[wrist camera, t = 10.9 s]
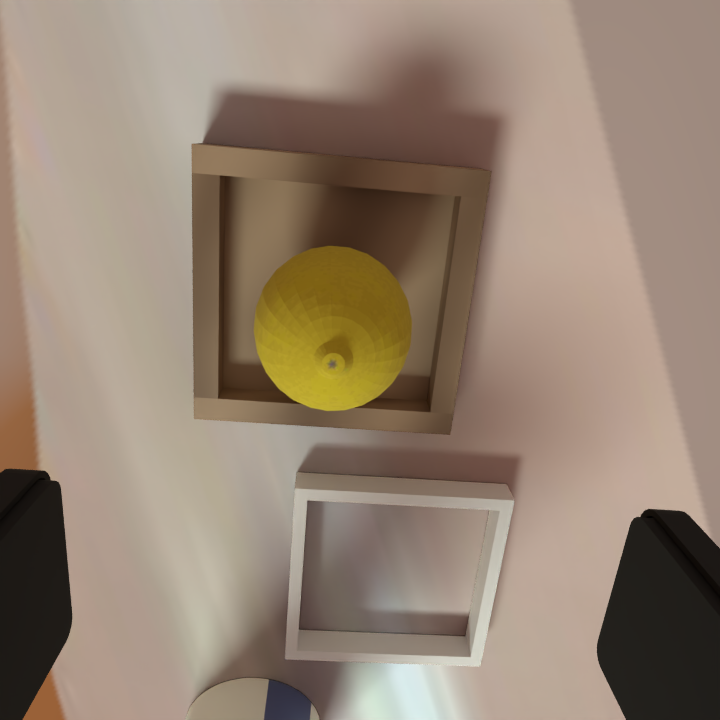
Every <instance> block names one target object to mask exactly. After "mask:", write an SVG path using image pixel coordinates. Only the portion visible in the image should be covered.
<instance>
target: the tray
mask: <svg viewBox="0 0 720 720" xmlns="http://www.w3.org/2000/svg"><path fill="white" fill-rule="evenodd" d="M490 177H491V171H488V170H484V169H478V168H467V167H456V166H446V165H435V164H424V163H413V162H402V161H391V160H380V159H369V158H358V157H347V156H336V155H326V154H315V153H304V152H293V151H282V150H271V149H260V148H249V147H238V146H227V145H217V144H206V143H198V144H192V239H193V357H194V419H204V420H220V421H236V422H253V423H269V424H285V425H301V426H318V427H334V428H350V429H366V430H382V431H399V432H415V433H431V434H447V435H450V432H451V426H452V420H453V413H454V407H455V400H456V394H457V388H458V381H459V375H460V369H461V362H462V356H463V349H464V343H465V337H466V330H467V324H468V318H469V311H470V305H471V298H472V292H473V286H474V279H475V273H476V267H477V260H478V254H479V247H480V241H481V235H482V228H483V222H484V216H485V209H486V203H487V197H488V190H489V184H490ZM325 246H339V247H350V248H352V249H355V250H358V251H361V252H364V253H366V254H368V255H370V256H371V257H373V258H374V259H376V260H377V261H379V262H380V263H382V264H383V265H385V266H386V268H387V269H388V270H389V271H390V272H391V273H392V275H393V276H394V277H395V278H396V279H397V280H398V282H399V284H400V286H401V288H402V290H403V292H404V294H405V296H406V298H407V300H408V304H409V309H410V314H411V319H412V333H411V345H410V348H409V351H408V354H407V357H406V360H405V363H404V366H403V368H402V369H401V371H400V372H399V374H398V375H397V377H396V379H395V380H394V382H393V383H392V384H391V385H390V386H389V387H388V388H387V389H386V390H385V391H384V392H383V393H382V394H380V395H379V396H378V397H376V398H375V399H373V400H371V401H369V402H367V403H366V404H364V405H362V406H358V407H355V408H351V409H348V410H339V411H325V410H320V409H315V408H310V407H308V406H306V405H303V404H301V403H299V402H297V401H294V400H293V399H291V398H290V397H289V396H287V395H286V394H285V393H283V392H282V391H281V390H280V389H279V388H278V387H277V386H276V385H275V383H274V382H273V381H272V380H271V378H270V377H269V376H268V374H267V373H266V371H265V369H264V367H263V365H262V362H261V360H260V358H259V356H258V353H257V349H256V343H255V336H254V320H255V311H256V306H257V303H258V301H259V298H260V295H261V293H262V290H263V288H264V286H265V285H266V283H267V282H268V281H269V279H270V278H271V276H272V275H273V274H274V272H275V271H276V270H277V269H278V268H279V267H281V266H282V265H283V264H284V263H286V262H287V261H288V260H289V259H291V258H292V257H293V256H296V255H298V254H300V253H302V252H305V251H307V250H309V249H312V248H318V247H325Z"/></svg>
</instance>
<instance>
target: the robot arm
mask: <svg viewBox="0 0 720 720" xmlns="http://www.w3.org/2000/svg"><path fill="white" fill-rule="evenodd" d="M71 625H72V607H71V595H70V584H69V573H68V562H67V551H66V540H65V528H64V517H63V506H62V495H61V487H60V484H59V482H57V481H51V480H50V477H49V475H48V473H47V472H45V471H38V470H23V469H5V470H4V471H2V472H1V473H0V720H22V719H23V718H24V716H25V714H26V712H27V711H28V709H29V707H30V705H31V703H32V701H33V700H34V698H35V696H36V694H37V692H38V691H39V689H40V687H41V685H42V684H43V682H44V680H45V678H46V676H47V675H48V673H49V671H50V669H51V668H52V666H53V664H54V662H55V660H56V659H57V657H58V655H59V653H60V652H61V650H62V648H63V646H64V644H65V643H66V641H67V638H68V636H69V633H70V629H71ZM597 656H598V661H599V664H600V667H601V669H602V671H603V673H604V675H605V677H606V680H607V682H608V684H609V686H610V688H611V690H612V692H613V694H614V696H615V698H616V700H617V702H618V704H619V706H620V708H621V710H622V712H623V714H624V716H625V718H626V720H720V548H719V547H718V546H717V545H716V544H715V543H714V542H713V541H712V540H711V539H710V538H709V537H708V535H707V534H706V533H705V532H704V531H703V530H702V529H701V528H700V527H699V526H698V525H697V524H696V523H695V521H694V520H693V519H692V518H691V517H690V516H689V515H688V514H686V513H685V512H682V511H673V510H657V509H648V510H645V511H644V512H643V513H642V514H641V517H636V518H634V519H633V520H632V522H631V525H630V528H629V531H628V535H627V538H626V542H625V546H624V549H623V553H622V556H621V560H620V564H619V567H618V571H617V574H616V578H615V581H614V585H613V589H612V592H611V596H610V599H609V603H608V607H607V610H606V614H605V617H604V621H603V624H602V628H601V632H600V635H599V639H598V643H597Z"/></svg>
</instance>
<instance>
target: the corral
mask: <svg viewBox="0 0 720 720" xmlns="http://www.w3.org/2000/svg"><path fill="white" fill-rule="evenodd" d="M307 500H309V501H328V502H346V503H365V504H384V505H403V506H421V507H440V508H459V509H477V510H489V515H488V520H487V525H486V531H485V536H484V541H483V546H482V552H481V557H480V562H479V567H478V572H477V578H476V583H475V588H474V593H473V598H472V604H471V609H470V614H469V619H468V625H467V630H466V635H465V636H444V635H418V634H393V633H367V632H342V631H316V630H299V617H300V603H301V588H302V573H303V558H304V543H305V529H306V514H307ZM514 501H515V500H514V498H513V496H512V494H511V492H510V490H509V488H508V486H507V484H496V483H479V482H461V481H443V480H426V479H408V478H390V477H372V476H355V475H337V474H319V473H302V472H297V473H296V482H295V493H294V510H293V527H292V545H291V562H290V579H289V596H288V613H287V630H286V647H285V660H313V661H341V662H369V663H397V664H425V665H453V666H480V665H481V660H482V655H483V651H484V646H485V641H486V636H487V631H488V626H489V622H490V617H491V612H492V607H493V602H494V598H495V593H496V588H497V583H498V578H499V573H500V569H501V564H502V559H503V554H504V549H505V544H506V540H507V535H508V530H509V525H510V520H511V516H512V511H513V506H514Z"/></svg>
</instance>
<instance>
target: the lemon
mask: <svg viewBox="0 0 720 720" xmlns="http://www.w3.org/2000/svg"><path fill="white" fill-rule="evenodd" d="M411 333H412V319H411V314H410V309H409V304H408V300H407V298H406V296H405V294H404V292H403V290H402V288H401V286H400V284H399V282H398V280H397V279H396V278H395V277H394V276H393V275H392V273H391V272H390V271H389V270H388V269H387V268H386V266H385V265H383V264H382V263H380V262H379V261H377V260H376V259H374V258H373V257H371V256H370V255H368V254H366V253H364V252H361V251H358V250H355V249H352V248H350V247H339V246H325V247H318V248H312V249H309V250H307V251H305V252H302V253H300V254H298V255H296V256H293V257H292V258H291V259H289V260H288V261H287V262H286V263H284V264H283V265H282V266H281V267H279V268H278V269H277V270H276V271H275V272H274V274H273V275H272V276H271V278H270V279H269V281H268V282H267V283H266V285H265V286H264V288H263V290H262V293H261V295H260V298H259V301H258V303H257V306H256V311H255V320H254V336H255V343H256V349H257V353H258V356H259V358H260V360H261V362H262V365H263V367H264V369H265V371H266V373H267V374H268V376H269V377H270V378H271V380H272V381H273V382H274V383H275V385H276V386H277V387H278V388H279V389H280V390H281V391H282V392H283V393H285V394H286V395H287V396H289V397H290V398H291V399H293V400H294V401H297V402H299V403H301V404H303V405H306V406H308V407H310V408H315V409H320V410H325V411H339V410H348V409H351V408H355V407H358V406H362V405H364V404H366V403H367V402H369V401H371V400H373V399H375V398H376V397H378V396H379V395H380V394H382V393H383V392H384V391H385V390H386V389H387V388H388V387H389V386H390V385H391V384H392V383H393V382H394V380H395V379H396V377H397V375H398V374H399V372H400V371H401V369H402V368H403V366H404V363H405V360H406V357H407V354H408V351H409V348H410V345H411Z"/></svg>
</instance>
